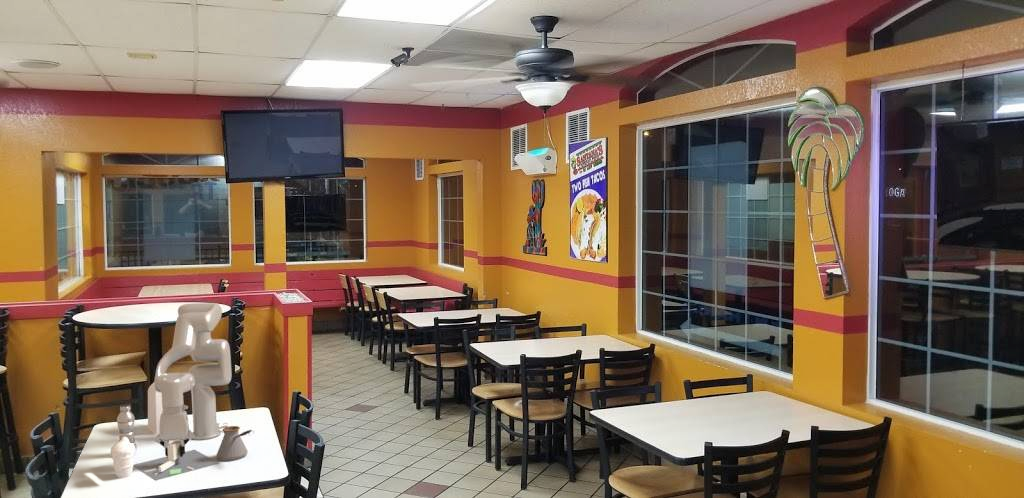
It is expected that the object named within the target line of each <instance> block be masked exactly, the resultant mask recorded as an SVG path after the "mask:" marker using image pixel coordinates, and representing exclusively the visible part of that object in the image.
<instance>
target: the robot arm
mask: <svg viewBox="0 0 1024 498" xmlns="http://www.w3.org/2000/svg"><path fill="white" fill-rule="evenodd" d="M222 313H223V310H222V307H221V305H220V304H219V303H217V302H207V303H205V302H204V303H199V302H198V303H197V302H196V303H185V304H181V305H180V306H179V307H178V309H177V315H178V316H177V318H176V319H175V320H176V321H175V328H174V334H173V341H172V346H171V348H170V349H169V350H168V351H167V352H166V353H165V354H164V355H163V356H162V358H161V359H160V360H159V361H158V363H157V366H156V369H155V376H154V381H153V383H154V386H155V389H156V391H158V392H160V393H161V394H162V414H161V416H160V426H159V434H158V435H156V437H155V438H154V442H155V443H157V444H160V446H162V448H164V453H165V456H164V457H167V458H168V447H167V445H168V444H170V441H176V440H180V442H181V446H180V457H183V454H185V452H186V446H185V445H186V444H187V443H188V442H189V441H191V440H196V441H197V440H198V441H199V440H200V441H201V440H209V439H213V438H217V437H218V436H220V435H221V434H222V432H221V429H223V428H226V427H229V424H228V423H227V422H224V423H222V422H220V423H218V421H217V405H216V403H217V402H216V393H215V392H214V390H213V389H212V386H215V387H216V386H226V385H229V384H230V382H231V380H232V377H233V376H232V375H233V374H232V373H233V372H232V360H231V359H232V358H231V348H230V344H229V341H227V339H224V338H217V339H216V338H212V337H211V336H212V334H211V333H212V332H213V331H214V330H215V328H216V327H217V325H218V324H219V322H220V321H221V318H222ZM188 356H191V359H192V361H194V362H196V363H197V362H199V363H200V362H201V363H200V364H195V365H193V366H191V367H190V368H189V370H188V372H167V370H168V368H169V367H170V366H171V365H172V364H173V363H175V362H176V361H178V360H181V359H183V358H185V357H188ZM202 362H203V363H202ZM205 362H217V363H205ZM189 391H191V392H190V393H191V407H192V410H191V411H192V426H193V428H192V429H193V432H192V431H191V430H190V427H189V425H190V424H189V417H188V413H187V411H186V410H188V408H189V406H188V405H186V404H185V403H184V393H187V392H189Z"/></svg>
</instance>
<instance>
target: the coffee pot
mask: <svg viewBox="0 0 1024 498" xmlns="http://www.w3.org/2000/svg"><path fill="white" fill-rule="evenodd" d="M240 429H241V427H240V426H238V425H231V426H228V427H226V428H222V433H224V435H223V437H222V439H221V442H220V446H219V448H218V450H217V452H216V457H217V459H218V460H219V461H221V462H232V461H237V460H241V459H244V458H245V457H246V456H247V455H248V449H247V447H246V445H245V443H244V441H243V439H242V436H243V437H244V436H247V435H250V433H251V432H253V433H255V431H254V430H253V429H252V430H251V429H249V430H246V431H243V432H242V433H239V430H240Z"/></svg>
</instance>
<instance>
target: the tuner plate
mask: <svg viewBox="0 0 1024 498" xmlns="http://www.w3.org/2000/svg"><path fill="white" fill-rule="evenodd" d="M168 461H170V460H168V458H167V456H162V457H159V458H156V459H151V460H148V461H143V462H139V463H134V465H133V468H136V469H137V470H138V471H140V472H141V473H143V474H144V475H146V476H147V477H150V478H151V479H152V480H154V481H159V480H163V479H167V478H171V477H173V476H178V475H182V474H185V473H190V472H194V471H197V470H200V469H204V468H207V467H208V468H209V467H211V466H215V465H219V464H221V463H220V462H219V461H216V460H215V459H213V458H211V457H209V456H207V455H206V454H204V453H202V452H200V451H198V450H196V449H192V450H187V451H185V454H183V457H179V464H174V465H173V466H171V467H169V468H168V469H166V470H164V471H162V472H159V466H161V465H163V464H164V463H166V462H168Z"/></svg>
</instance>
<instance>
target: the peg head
mask: <svg viewBox="0 0 1024 498" xmlns="http://www.w3.org/2000/svg"><path fill="white" fill-rule="evenodd" d="M180 446H181V442H180V439H176V440H173V441H172V442H169V444H168V445H167V447H168V460H170V461H168V462H166V463H164V464H163V465H161V466H159V472H162V471H164V470H166V469H168V468H169V467H171V466H173V465H174V464H179V457H180Z"/></svg>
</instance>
